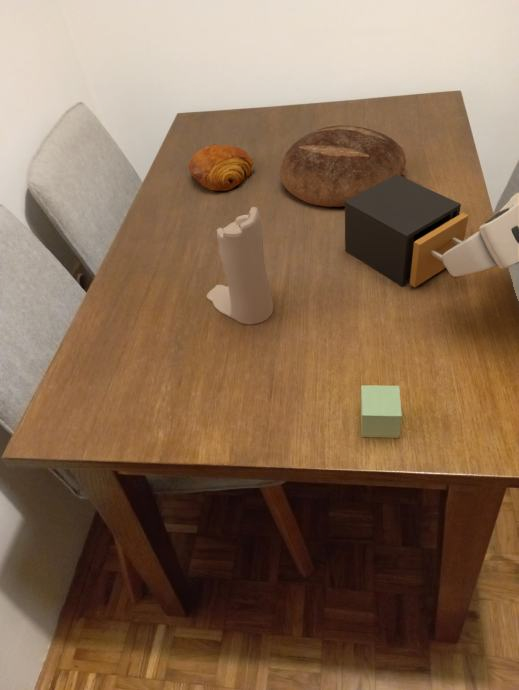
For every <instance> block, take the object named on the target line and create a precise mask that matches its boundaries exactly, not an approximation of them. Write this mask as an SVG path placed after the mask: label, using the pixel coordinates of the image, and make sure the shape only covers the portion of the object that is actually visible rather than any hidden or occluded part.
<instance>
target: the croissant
mask: <svg viewBox="0 0 519 690" xmlns="http://www.w3.org/2000/svg"><path fill="white" fill-rule="evenodd" d="M253 160H254V159H252V157H251V156H250V154H249V153H248V152H247V151H246V150H244V149H243V148H239V147H237V146H232V145H229V144H223V145H221V144H215V143H214V144H211V145H208V146H206V147H204V148H200V149H199V150H198V151H197V152H196V153H194V154H193V155H192V156H191V157H190V159H189V163H188V166H187V167H188V171H189V173H190V174H191V175H192V177H193V178H194V179H195V180H196V181H197V182H198V183H199V184H201V186H202V187H204V188H205V189H208V190H210V191H216V192H217V191H222V192H226V191H229V190H232V189H233V188H235V187H237V186H238V185H240V184H242V183H243V181H245V180H246V179H248V178H249V177H250V175H251V173H252V168H253V166H254V161H253Z"/></svg>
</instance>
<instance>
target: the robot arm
mask: <svg viewBox="0 0 519 690" xmlns="http://www.w3.org/2000/svg"><path fill="white" fill-rule="evenodd" d="M442 260H443V262H444V264H445V266H446V268H445V269H446V270H447V272H448V273H449V275H450V276H451V277H454V278H457V277H465V276H468V275H472V274H476V273H480V272H484V271H488V270H490V269H493V268H495V267H498V268H499V269H500V270H504V269H508V268H510V267H513V266H515V265H518V264H519V191H517V192H516V193H515V194H514V195H512V196H511V197H510V199H509V200H508V201H507V203H505V205H503V207H502V208H501V209H500V210H499V211H498V212H497V213H496V214H494V215H493V216H492V217H491V218H489V219H488V220H486V221H485V222H484V223H483V224H481V225H480V226H479V227H478V230H477V231H476V232H475V233H473V234H472V235H470V236H469V237H467V238H466V239H464V241H462V242H461V243H459V244H457V245H456V246H454V247H453V248H451V249H449V250H448V251H446V252H445V253H444V254H443V255H442Z"/></svg>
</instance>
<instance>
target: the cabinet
mask: <svg viewBox="0 0 519 690" xmlns="http://www.w3.org/2000/svg"><path fill="white" fill-rule="evenodd" d="M461 208H462V203H460V202H458V201H456V200H453V199H451V198H450V197H447V196H446V195H442V194H440V193H439V192H437V191H433V190H432V189H430V188H428V187H425V186H423V185H421V184H419V183H417V182H415V181H412V180H410V179H408V178H405V177H404V176H403V175H401V176H399V175H397V174H396V175H394V176H392V177H390V178H388V179H387V180H385V181H383V182H381V183H379V184H377V185H375V186H373V187H372V188H370V189H368V190H366V191H364V192H362V193H360V194H358V195H356V196H355V197H353V198H351V199H349V200H347V201H345V206H344V245H345V246H344V250H345V252H347V254H350V255H351V256H353V257H354V258H356V259H357V260H359V261H361V262H362V263H364V264H365V265H366V266H368V267H370V268H371V269H373V270H375V271H376V272H378V273H380V274H381V275H383V276H384V277H385V278H387V279H388V280H390V281H392V282H394V283H395V284H397V285H398V286H400V287H401V288H403V287H405V286H406V285H408V284H410V276H411V275H410V276H408V277H406V272H407V262H408V252H409V242H410V238H411V237H412V236H414V235H416V234H417V233H419V232H421V231H423V230H424V229H426V228H428V227H429V226H431V225H433V224H434V223H436V222H438V221H439V220H441V219H443V218H444V217H446V216H448V215H450V214H451V213H453V218H455V217H457V216H458V215H460V214H461ZM453 218H452V219H453Z"/></svg>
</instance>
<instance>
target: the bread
mask: <svg viewBox="0 0 519 690" xmlns="http://www.w3.org/2000/svg"><path fill="white" fill-rule="evenodd" d="M406 163H407V159H406V154H405V150H404V149H403V147H402V146H401V145H400V144H399V143H398V142H397V141H395V140H394V139H393V138H392V137H390V136H388V135H387V134H384V133H381V132H379V131H377V130H373V129H370V128H365V127H361V126H356V125H331V126H325V127H321V128H318V129H316V130H314V131H312V132H309V133H307V134H305V135H304V136H303V137H301V138H299V139H298V140H297V141H295V142H294V143H293V144H292V145H291V146H290V147H289V148H288V149H287V151H286V152H285V154H284V156H283V158H282V160H281V164H280V170H279V175H280V179H281V183H282V184H283V187H284V188H285V189H286V190H287V192H289V193H290V194H291V195H292V196H294V197H296V198H297V199H298V200H301V201H302V202H305V203H307V204H311V205H314V206H320V207H326V208H327V207H328V208H329V207H333V208H334V207H338V208H339V207H345V201H347V200H349V199H351V198H353V197H355V196H356V195H358V194H360V193H362V192H364V191H366V190H368V189H370V188H372V187H373V186H375V185H377V184H379V183H381V182H383V181H385V180H387V179H388V178H390V177H392V176H394V175H396V174H397V175H399V176H403V173H404V170H405V167H406Z"/></svg>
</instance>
